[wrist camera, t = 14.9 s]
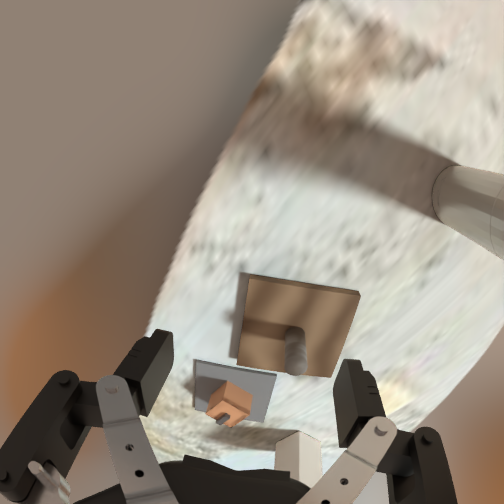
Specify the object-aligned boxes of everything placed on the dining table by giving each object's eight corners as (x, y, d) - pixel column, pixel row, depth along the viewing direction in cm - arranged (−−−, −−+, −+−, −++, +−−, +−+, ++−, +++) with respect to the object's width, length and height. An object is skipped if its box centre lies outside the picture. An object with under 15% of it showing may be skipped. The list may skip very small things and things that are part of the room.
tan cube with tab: (227, 380, 49) (221, 403, 43) (252, 395, 49) (249, 418, 44) (211, 394, 51) (204, 417, 45) (235, 408, 51) (230, 430, 46)
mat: (276, 374, 48) (276, 376, 47) (263, 420, 53) (263, 422, 52) (196, 359, 48) (196, 361, 48) (195, 407, 53) (194, 409, 53)
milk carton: (275, 442, 55) (269, 514, 37) (299, 429, 53) (298, 506, 35) (297, 452, 56) (296, 520, 38) (320, 440, 54) (324, 512, 36)
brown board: (358, 291, 41) (373, 324, 33) (329, 371, 47) (335, 410, 38) (250, 274, 42) (242, 305, 33) (237, 359, 47) (229, 397, 39)
